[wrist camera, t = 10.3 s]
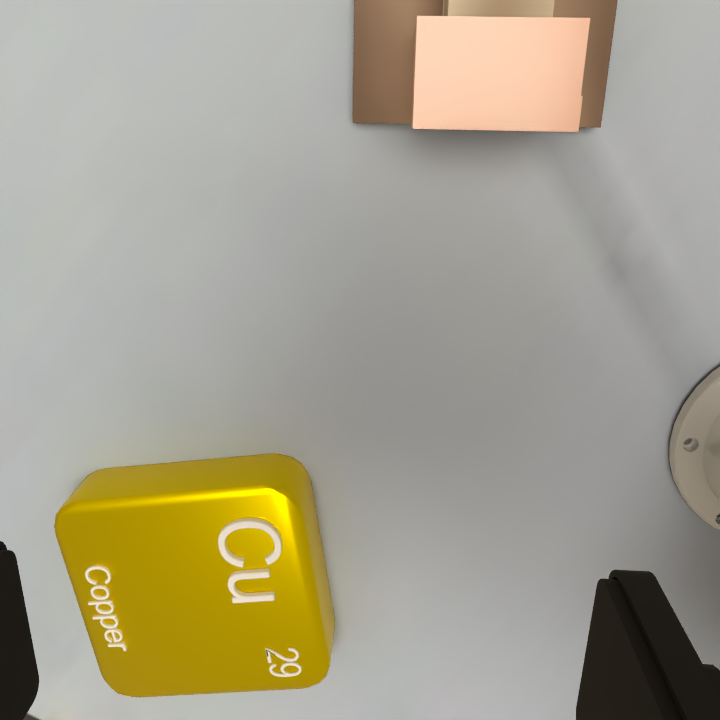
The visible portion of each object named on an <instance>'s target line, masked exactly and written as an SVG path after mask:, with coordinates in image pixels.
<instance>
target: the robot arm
mask: <svg viewBox="0 0 720 720" xmlns="http://www.w3.org/2000/svg"><path fill="white" fill-rule="evenodd" d="M685 440H686V441H685ZM669 461H670V466H671V471H672V476H673V479H674V481H675V483H676V485H677V487H678V490H679V492H680V493H681V495H682V496H683V498H684V499H685V500H686V502H687V503H688V505H689V506H690V507H691V508H692V510H693V511H694V512H695V513H696V514H697V515H698V516H699V517H700V518H701V519H702V520H704V521H705V522H706V523H708V524H709V525H711V526H712V527H714V528H716V529H717V530H720V367H718V368H717V369H716V370H714V371H713V372H711V373H710V374H709V375H708V376H707V377H706V378H705V379H704V380H703V381H702V382H701V383H700V384H699V385H698V386H697V387H696V388H695V390H694V391H693V392H692V394H691V395H690V396H689V398H688V399H687V401H686V402H685V403H684V405H683V407H682V409H681V411H680V413H679V415H678V417H677V419H676V421H675V424H674V428H673V432H672V436H671V440H670V455H669ZM38 687H39V675H38V670H37V664H36V659H35V654H34V649H33V643H32V638H31V633H30V628H29V622H28V617H27V612H26V607H25V602H24V596H23V591H22V586H21V581H20V575H19V570H18V565H17V560H16V556H15V554H14V552H13V551H10V550H7V548H6V545H5V544H4V543H3V542H1V541H0V720H23V719H24V717H25V715H26V714H27V712H28V710H29V709H30V707H31V705H32V704H33V702H34V700H35V698H36V695H37V691H38ZM576 720H720V670H719V669H718V668H716V667H715V666H713V665H709V664H702V662H701V660H700V659H699V657H698V655H697V653H696V651H695V649H694V648H693V646H692V644H691V642H690V640H689V638H688V636H687V635H686V633H685V631H684V629H683V627H682V625H681V624H680V622H679V620H678V618H677V616H676V614H675V612H674V611H673V609H672V607H671V605H670V603H669V601H668V600H667V598H666V596H665V594H664V592H663V590H662V588H661V587H660V585H659V583H658V581H657V579H656V577H655V576H654V575H653V573H651V572H649V571H629V570H613V571H612V572H611V573H610V575H609V579H600V580H599V581H598V584H597V588H596V594H595V600H594V606H593V612H592V618H591V624H590V630H589V636H588V642H587V647H586V653H585V659H584V665H583V671H582V677H581V683H580V689H579V695H578V701H577V707H576Z"/></svg>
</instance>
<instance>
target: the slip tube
mask: <svg viewBox="0 0 720 720" xmlns="http://www.w3.org/2000/svg"><path fill="white" fill-rule="evenodd" d="M554 1H555V0H443V15H442V16H477V17H553V11H554Z"/></svg>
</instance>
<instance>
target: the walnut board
mask: <svg viewBox="0 0 720 720" xmlns="http://www.w3.org/2000/svg"><path fill="white" fill-rule="evenodd" d="M616 8H617V0H555V1H554V11H553V17H558V18H590V25H589V33H588V41H587V50H586V58H585V66H584V74H583V83H582V91H581V96H583V99H582V107H581V115H580V123H579V127H600V128H601V121H602V113H603V106H604V98H605V91H606V83H607V76H608V68H609V61H610V53H611V46H612V38H613V31H614V23H615V16H616ZM442 15H443V0H354V68H353V123H393V124H410V110H411V85H412V60H413V35H414V29H415V24H416V19H417V16H442Z"/></svg>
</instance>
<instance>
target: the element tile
mask: <svg viewBox="0 0 720 720" xmlns="http://www.w3.org/2000/svg"><path fill="white" fill-rule="evenodd" d="M54 527H55V533H56V537H57V540H58V543H59V547H60V550H61V553H62V556H63V559H64V562H65V565H66V568H67V571H68V574H69V577H70V580H71V583H72V586H73V589H74V592H75V595H76V598H77V601H78V604H79V608H80V611H81V614H82V617H83V620H84V623H85V626H86V629H87V632H88V635H89V638H90V641H91V644H92V647H93V650H94V653H95V656H96V659H97V662H98V665H99V669H100V672H101V674H102V676H103V678H104V680H105V681H106V682H107V684H108V685H109V686H110V687H111V688H112V689H113V690H114V691H115V692H117V693H118V694H122V695H127V696H131V697H156V696H174V695H193V694H211V693H229V692H248V691H266V690H284V689H303V688H307V687H311V686H313V685H316V684H318V683H320V682H321V681H322V680H323V679H324V678H325V677H326V675H327V673H328V670H329V667H330V660H331V652H332V644H333V636H334V628H335V617H334V611H333V605H332V599H331V594H330V588H329V582H328V576H327V570H326V565H325V559H324V553H323V547H322V541H321V535H320V530H319V524H318V518H317V512H316V506H315V501H314V495H313V489H312V483H311V480H310V477H309V474H308V472H307V471H306V469H305V468H304V466H303V465H302V464H301V463H300V462H298V461H297V460H295V459H294V458H292V457H289V456H285V455H281V454H263V455H252V456H240V457H229V458H218V459H206V460H195V461H184V462H172V463H161V464H150V465H138V466H127V467H116V468H105V469H101V470H97V471H95V472H93V473H92V474H90V475H88V476H87V477H86V478H85V479H84V481H83V482H82V483H81V484H80V485H79V487H78V488H77V489H76V490H75V491H74V492H73V494H72V495H71V496H70V497H69V498H68V500H67V501H66V502H65V503H64V504H63V506H62V507H61V508H60V510H59V511H58V512H57V514H56V518H55V525H54Z"/></svg>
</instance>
